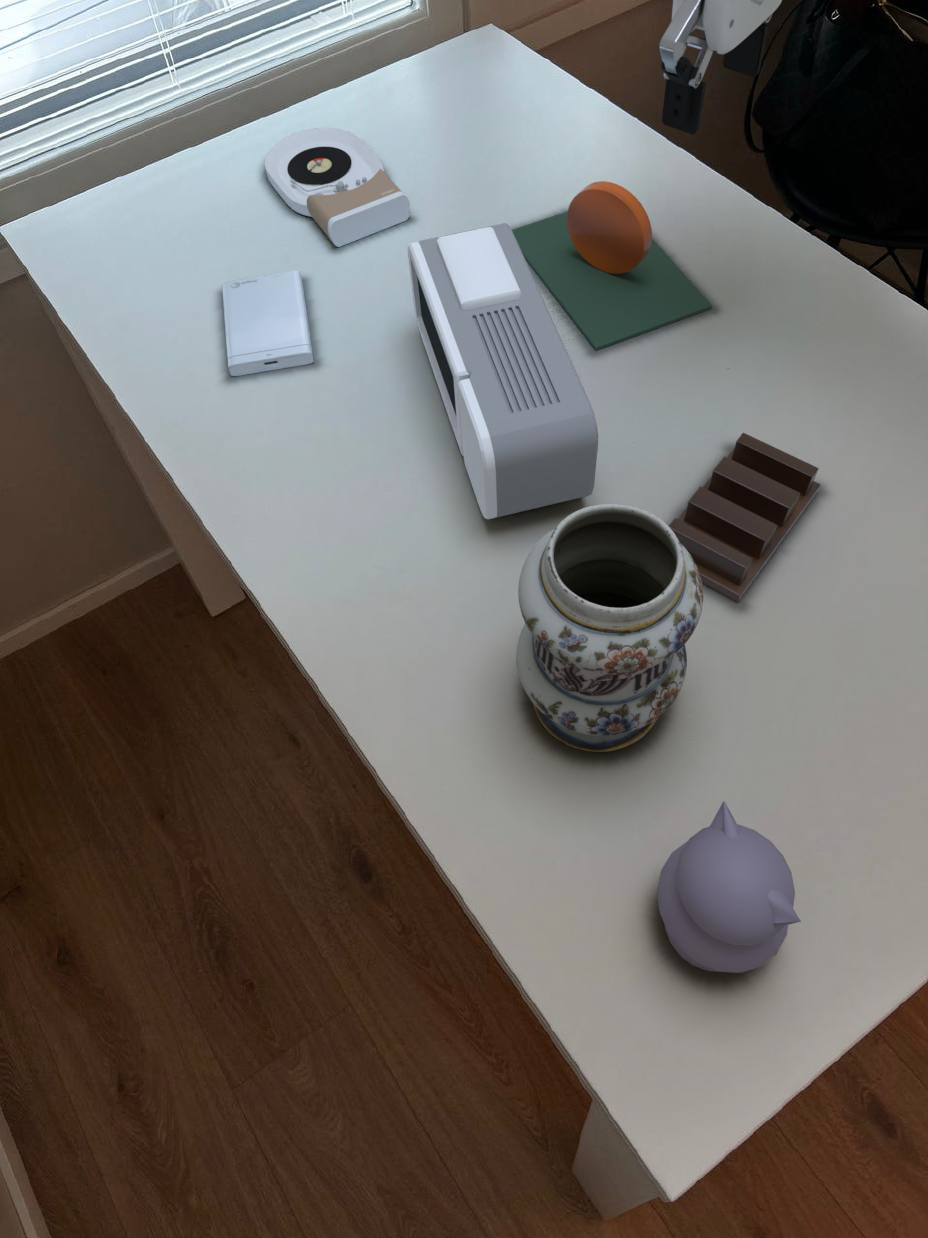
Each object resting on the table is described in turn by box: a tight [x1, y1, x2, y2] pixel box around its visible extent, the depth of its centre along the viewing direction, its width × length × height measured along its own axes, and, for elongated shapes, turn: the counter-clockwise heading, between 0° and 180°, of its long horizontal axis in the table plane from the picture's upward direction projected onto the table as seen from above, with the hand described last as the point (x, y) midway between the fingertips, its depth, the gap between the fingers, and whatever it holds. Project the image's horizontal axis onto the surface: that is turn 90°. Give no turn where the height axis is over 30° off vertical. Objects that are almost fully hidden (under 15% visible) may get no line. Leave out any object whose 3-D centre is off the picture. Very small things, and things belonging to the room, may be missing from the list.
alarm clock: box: [407, 222, 599, 520], centre depth 85 cm, size 27×9×12 cm, turn 14°
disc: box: [567, 180, 653, 274], centre depth 95 cm, size 2×9×9 cm, turn 53°
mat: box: [512, 210, 713, 351], centre depth 99 cm, size 20×13×1 cm, turn 24°
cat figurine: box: [657, 800, 802, 974], centre depth 59 cm, size 8×8×12 cm
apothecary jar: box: [515, 503, 704, 753], centre depth 66 cm, size 12×12×18 cm
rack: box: [668, 432, 821, 603], centre depth 80 cm, size 14×8×4 cm, turn 143°
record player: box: [264, 127, 411, 248], centre depth 108 cm, size 12×3×20 cm
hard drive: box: [221, 270, 314, 377], centre depth 97 cm, size 2×8×12 cm
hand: (711, 98), depth 80 cm, fingers open, 9 cm apart
